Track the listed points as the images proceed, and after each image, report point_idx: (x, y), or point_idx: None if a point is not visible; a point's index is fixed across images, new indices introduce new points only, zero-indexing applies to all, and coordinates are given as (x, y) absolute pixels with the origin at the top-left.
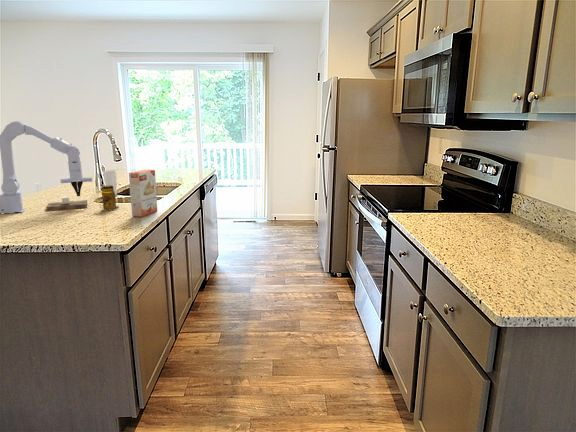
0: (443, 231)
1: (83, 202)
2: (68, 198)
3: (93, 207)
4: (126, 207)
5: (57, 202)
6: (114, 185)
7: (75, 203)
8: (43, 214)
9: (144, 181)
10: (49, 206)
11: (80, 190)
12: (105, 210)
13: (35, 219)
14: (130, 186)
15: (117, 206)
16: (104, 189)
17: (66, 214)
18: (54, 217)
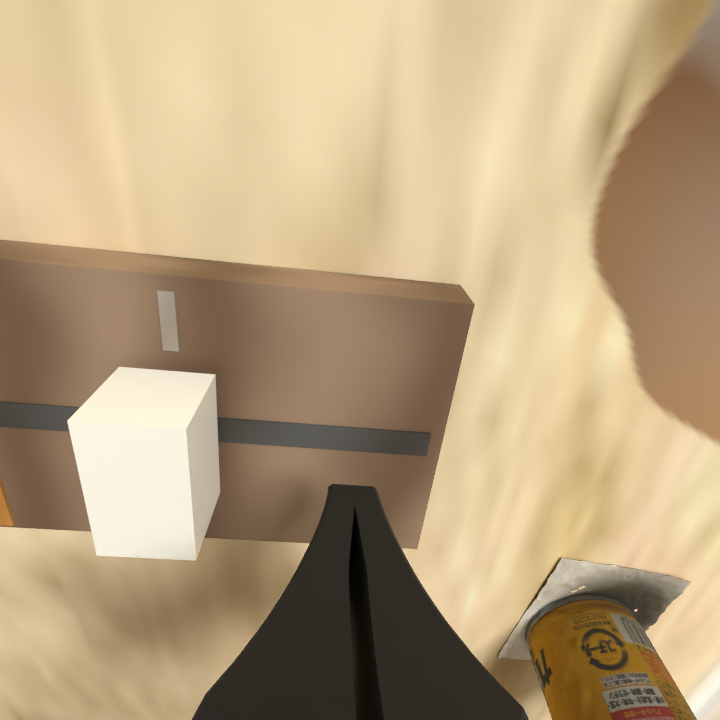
0: None
1: (398, 452)
2: (199, 548)
3: (473, 519)
4: (715, 623)
5: (16, 280)
6: None
7: (297, 469)
8: (28, 602)
9: None
10: (1, 521)
11: (402, 560)
12: (527, 657)
13: (27, 705)
14: None
15: (674, 583)
16: None
17: (229, 660)
18: (153, 701)
